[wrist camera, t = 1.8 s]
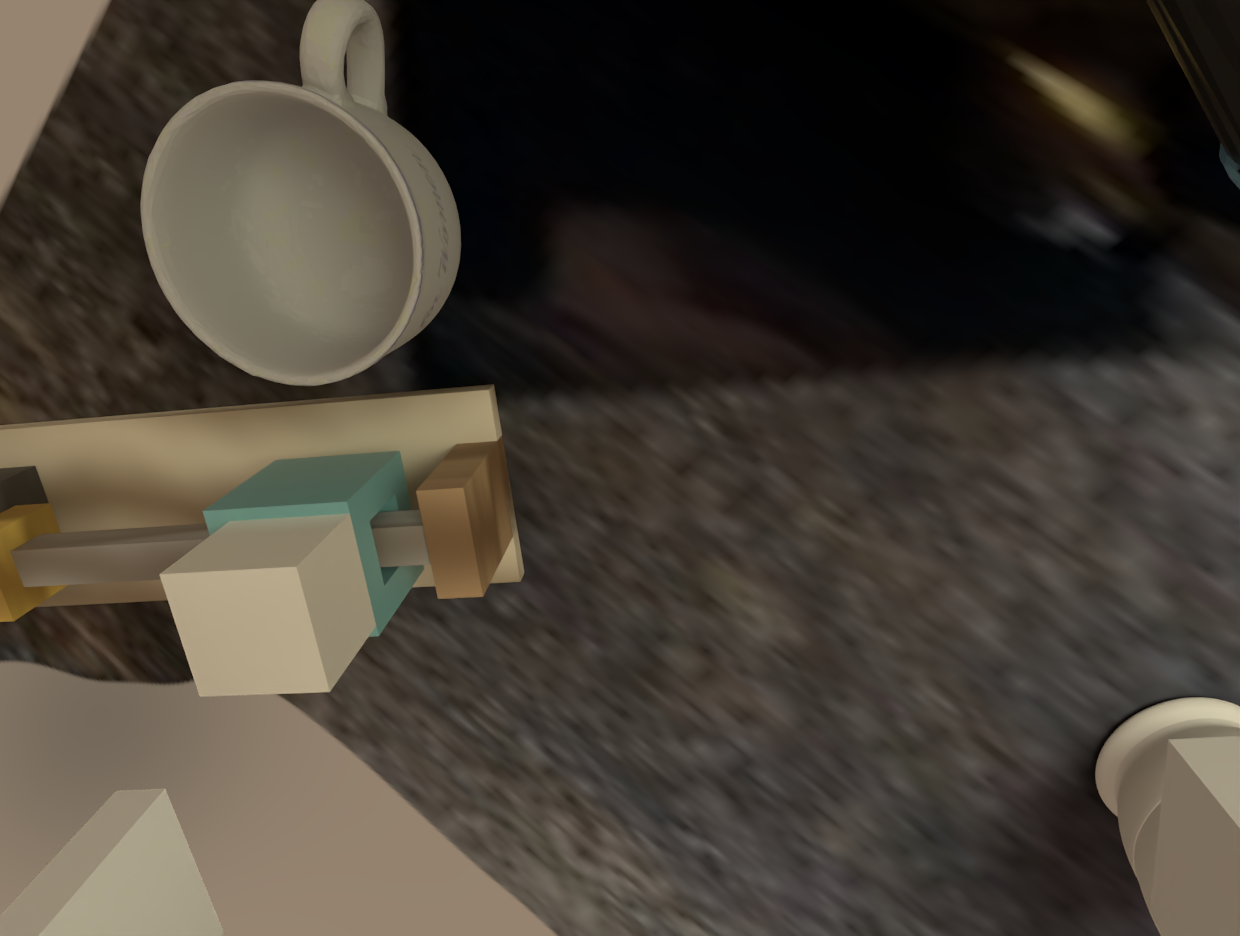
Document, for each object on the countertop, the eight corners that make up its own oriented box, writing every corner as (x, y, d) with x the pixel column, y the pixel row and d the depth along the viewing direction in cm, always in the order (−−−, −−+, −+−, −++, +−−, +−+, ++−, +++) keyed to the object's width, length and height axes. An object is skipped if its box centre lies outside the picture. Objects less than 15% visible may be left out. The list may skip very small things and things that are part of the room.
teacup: (417, 386, 39) (351, 439, 32) (211, 268, 38) (92, 293, 31) (555, 113, 34) (516, 98, 27) (324, -32, 33) (216, -89, 26)
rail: (-34, 428, 42) (-192, 484, 35) (493, 384, 39) (445, 436, 31) (33, 598, 45) (-97, 684, 38) (524, 572, 42) (487, 660, 35)
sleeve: (275, 460, 38) (128, 563, 28) (399, 450, 37) (292, 553, 27) (306, 575, 40) (178, 709, 30) (424, 568, 39) (332, 703, 29)
